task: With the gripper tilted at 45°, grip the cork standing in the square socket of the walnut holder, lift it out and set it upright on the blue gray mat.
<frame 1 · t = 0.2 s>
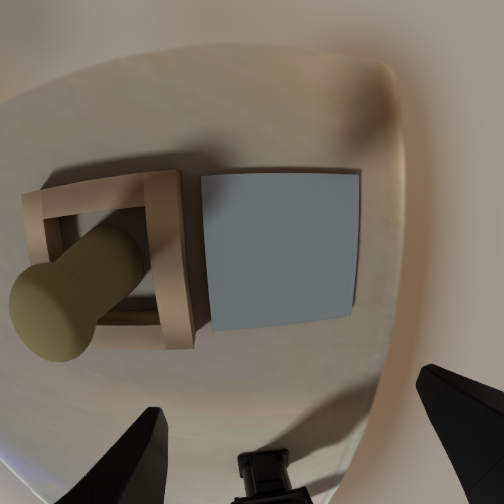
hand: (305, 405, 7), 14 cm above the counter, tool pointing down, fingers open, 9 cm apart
walnut holder: (108, 262, 20), on the counter
cork: (109, 261, 20), resting in walnut holder
blue gray mat: (284, 251, 21), on the counter
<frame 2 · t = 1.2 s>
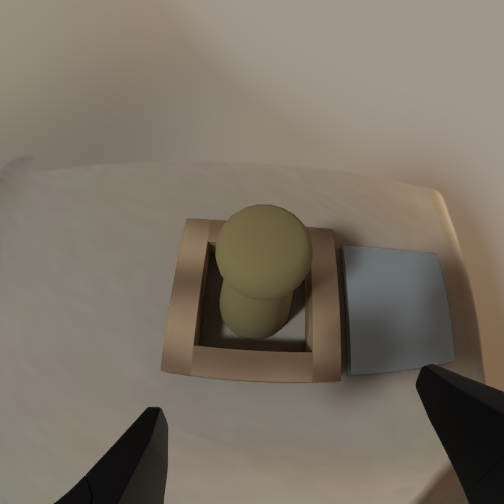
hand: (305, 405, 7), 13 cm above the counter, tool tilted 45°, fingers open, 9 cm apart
walnut holder: (254, 304, 23), on the counter
cork: (254, 305, 23), resting in walnut holder
blue gray mat: (400, 308, 23), on the counter
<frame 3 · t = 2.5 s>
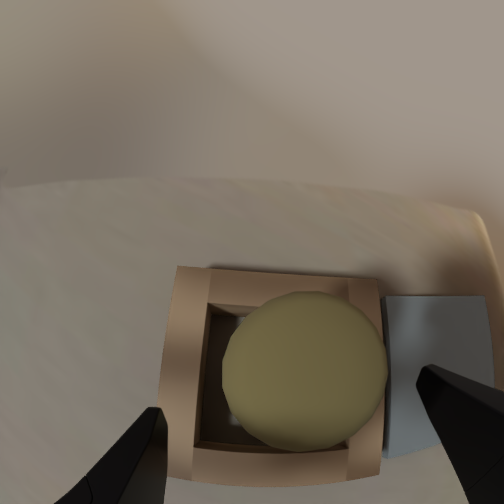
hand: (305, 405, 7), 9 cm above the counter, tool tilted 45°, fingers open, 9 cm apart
walnut holder: (273, 382, 16), on the counter
cork: (272, 382, 16), resting in walnut holder
blue gray mat: (445, 369, 16), on the counter
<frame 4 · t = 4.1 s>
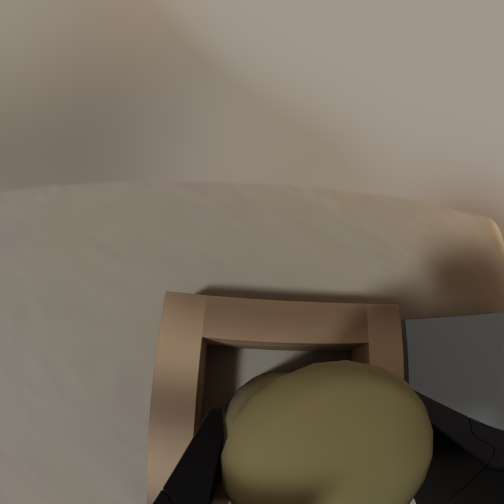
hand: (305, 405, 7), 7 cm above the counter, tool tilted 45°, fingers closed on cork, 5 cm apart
walnut holder: (278, 421, 13), on the counter
cork: (278, 421, 13), resting in walnut holder, touching gripper
blue gray mat: (463, 394, 13), on the counter
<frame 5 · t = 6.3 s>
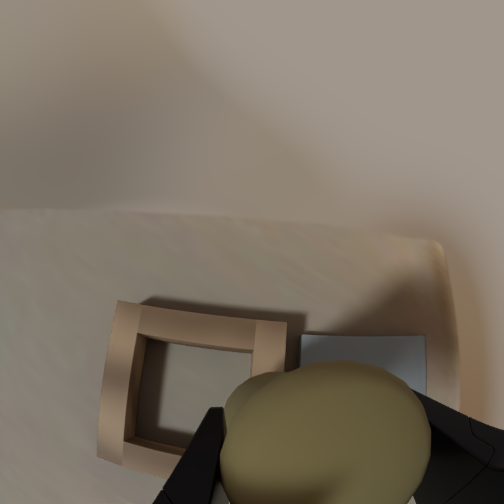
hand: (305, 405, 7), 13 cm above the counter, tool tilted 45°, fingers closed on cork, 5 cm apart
walnut holder: (191, 399, 19), on the counter
cork: (276, 420, 13), point 6 cm above the counter, touching gripper
blue gray mat: (365, 406, 19), on the counter
when the fingers open (9 cm above the counter, at t = 8.6 s): cork drops 1 cm, resting on blue gray mat.
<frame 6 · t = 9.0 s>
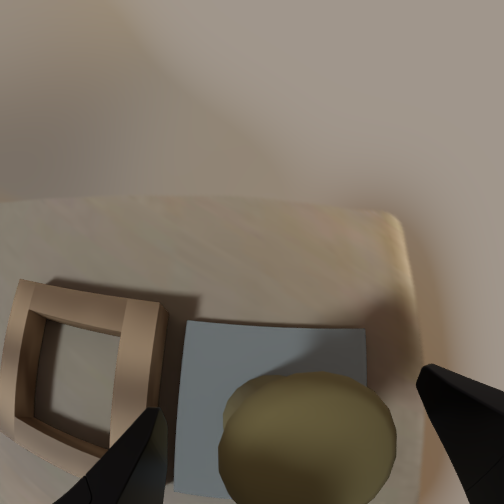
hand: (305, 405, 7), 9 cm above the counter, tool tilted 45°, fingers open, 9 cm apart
walnut holder: (77, 384, 15), on the counter
cork: (272, 420, 14), point 1 cm above the counter, touching blue gray mat
blue gray mat: (274, 417, 15), on the counter
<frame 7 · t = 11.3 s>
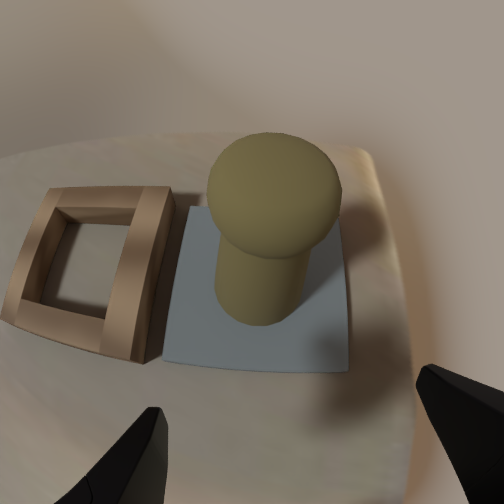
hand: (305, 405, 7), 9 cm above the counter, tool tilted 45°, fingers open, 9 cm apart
walnut holder: (87, 268, 19), on the counter
cork: (258, 284, 19), point 1 cm above the counter, touching blue gray mat
blue gray mat: (261, 286, 19), on the counter
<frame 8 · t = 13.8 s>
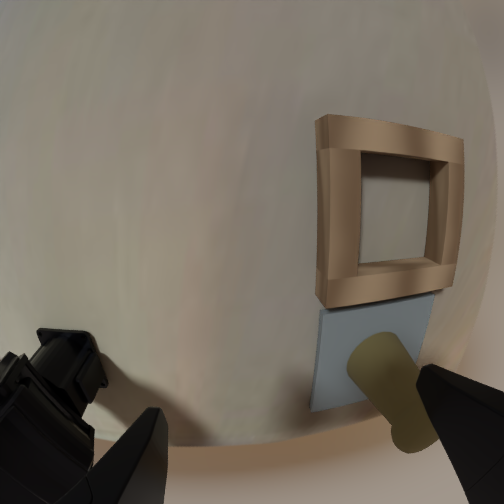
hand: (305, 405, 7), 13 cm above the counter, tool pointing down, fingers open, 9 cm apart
walnut holder: (391, 209, 20), on the counter
cork: (373, 356, 23), point 1 cm above the counter, touching blue gray mat
blue gray mat: (371, 354, 24), on the counter
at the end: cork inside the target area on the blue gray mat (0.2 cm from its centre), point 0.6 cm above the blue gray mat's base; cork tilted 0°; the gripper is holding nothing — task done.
